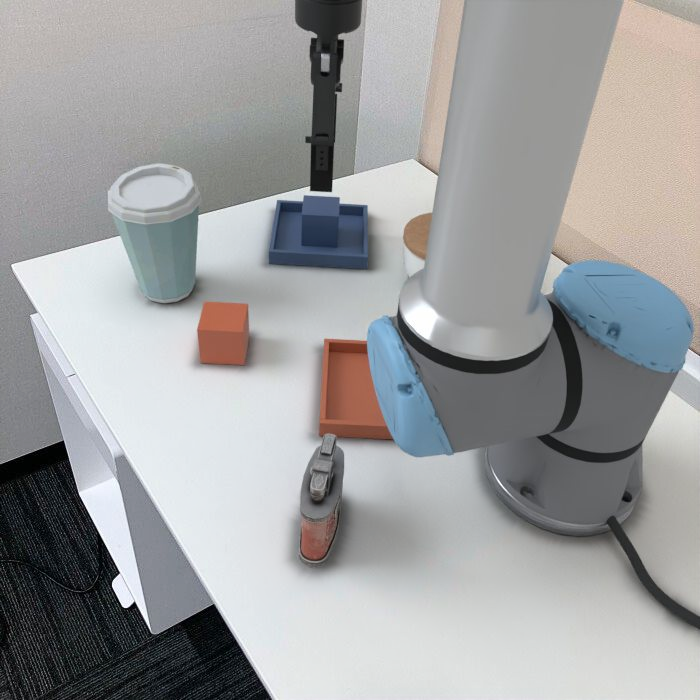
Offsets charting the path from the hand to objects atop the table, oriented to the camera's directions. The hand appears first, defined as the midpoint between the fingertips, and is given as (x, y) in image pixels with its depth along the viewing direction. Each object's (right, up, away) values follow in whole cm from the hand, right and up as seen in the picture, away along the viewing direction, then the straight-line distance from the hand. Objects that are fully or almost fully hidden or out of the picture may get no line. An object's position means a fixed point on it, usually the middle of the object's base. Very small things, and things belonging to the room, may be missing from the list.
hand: (323, 164), depth 96 cm
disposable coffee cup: (-20, -16, -2) cm, 26 cm away
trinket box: (+15, -15, +2) cm, 22 cm away
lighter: (+1, -41, -27) cm, 49 cm away
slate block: (-1, -8, +8) cm, 11 cm away
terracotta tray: (+7, -29, -14) cm, 33 cm away
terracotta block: (-11, -24, -10) cm, 28 cm away
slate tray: (-1, -8, +8) cm, 12 cm away
